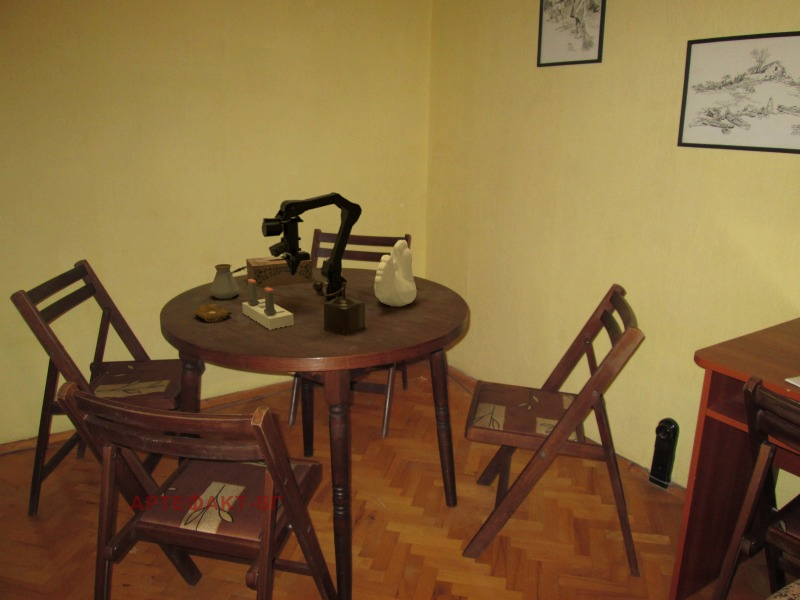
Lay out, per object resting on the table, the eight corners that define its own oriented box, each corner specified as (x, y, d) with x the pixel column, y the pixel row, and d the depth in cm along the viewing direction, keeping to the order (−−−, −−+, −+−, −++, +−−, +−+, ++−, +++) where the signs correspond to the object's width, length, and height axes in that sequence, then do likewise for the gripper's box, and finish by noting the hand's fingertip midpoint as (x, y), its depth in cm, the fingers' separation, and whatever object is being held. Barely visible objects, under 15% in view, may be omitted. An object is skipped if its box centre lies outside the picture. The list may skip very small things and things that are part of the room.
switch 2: (271, 310, 213) (270, 286, 211) (276, 313, 211) (275, 289, 208) (263, 312, 212) (262, 288, 209) (268, 315, 209) (267, 290, 206)
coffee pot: (204, 297, 245) (201, 260, 240) (228, 291, 253) (226, 256, 249) (237, 307, 232) (234, 269, 228) (261, 300, 240) (259, 263, 236)
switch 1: (255, 301, 224) (253, 278, 222) (259, 303, 221) (257, 280, 219) (247, 302, 222) (245, 279, 220) (251, 305, 220) (250, 282, 217)
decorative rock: (186, 317, 222) (208, 328, 213) (185, 307, 221) (207, 317, 211) (214, 309, 230) (236, 318, 221) (213, 298, 229) (235, 308, 219)
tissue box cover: (304, 275, 281) (303, 253, 278) (312, 282, 268) (312, 260, 265) (247, 280, 270) (246, 258, 267) (254, 288, 258) (252, 266, 255)
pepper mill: (342, 321, 217) (341, 272, 212) (366, 327, 211) (365, 277, 205) (311, 333, 205) (309, 281, 200) (335, 340, 199) (334, 287, 194)
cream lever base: (265, 308, 230) (264, 297, 229) (293, 324, 213) (293, 313, 212) (242, 313, 225) (242, 302, 224) (269, 330, 208) (269, 318, 206)
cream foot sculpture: (393, 294, 250) (394, 234, 242) (425, 301, 241) (426, 239, 233) (353, 309, 231) (352, 244, 223) (385, 317, 221) (385, 250, 214)
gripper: (260, 233, 229) (262, 273, 234) (282, 241, 215) (284, 283, 220) (286, 230, 236) (288, 269, 240) (310, 237, 222) (311, 279, 226)
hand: (292, 275), depth 231 cm, fingers closed
